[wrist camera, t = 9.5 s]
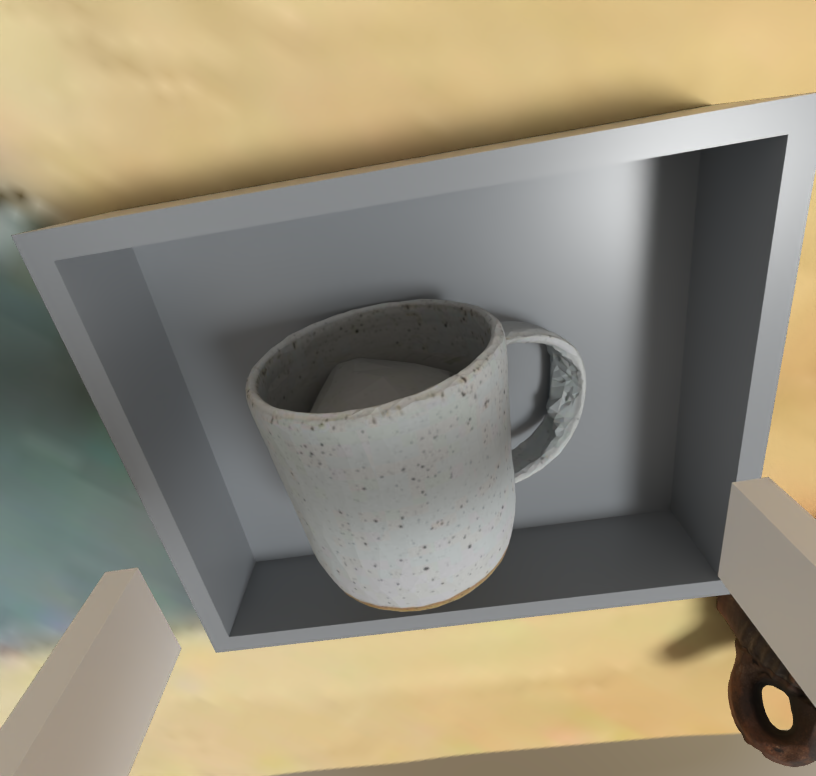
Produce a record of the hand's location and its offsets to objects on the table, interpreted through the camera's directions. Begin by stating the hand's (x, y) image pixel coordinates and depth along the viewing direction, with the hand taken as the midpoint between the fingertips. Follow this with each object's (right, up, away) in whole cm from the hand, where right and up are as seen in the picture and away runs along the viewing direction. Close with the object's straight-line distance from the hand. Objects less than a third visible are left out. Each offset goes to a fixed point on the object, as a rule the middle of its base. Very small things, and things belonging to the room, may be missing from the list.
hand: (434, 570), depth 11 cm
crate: (0, +4, +9) cm, 10 cm away
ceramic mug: (0, +4, +8) cm, 9 cm away
